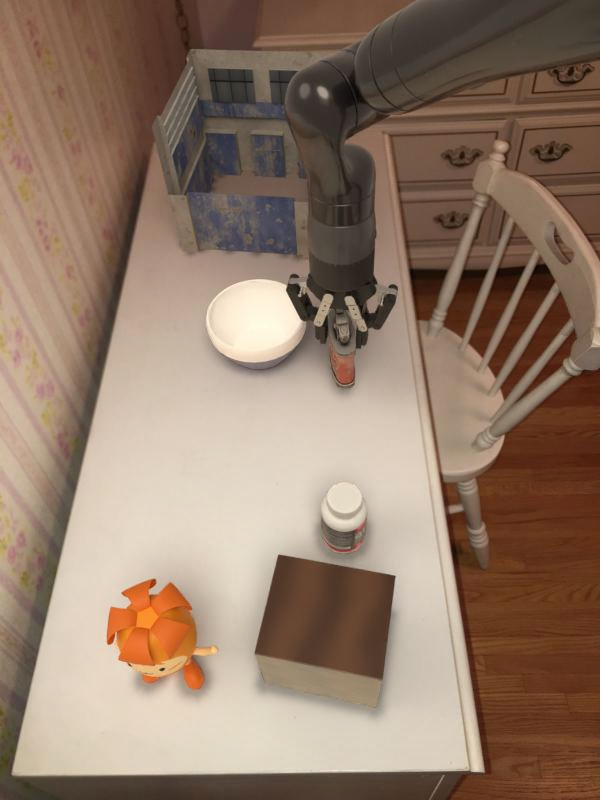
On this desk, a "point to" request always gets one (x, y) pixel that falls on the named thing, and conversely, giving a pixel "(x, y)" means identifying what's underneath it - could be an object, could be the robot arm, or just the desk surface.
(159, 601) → the toy figure
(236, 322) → the bowl
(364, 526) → the pill bottle
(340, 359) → the lighter
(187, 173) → the building
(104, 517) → the desk surface
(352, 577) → the block
